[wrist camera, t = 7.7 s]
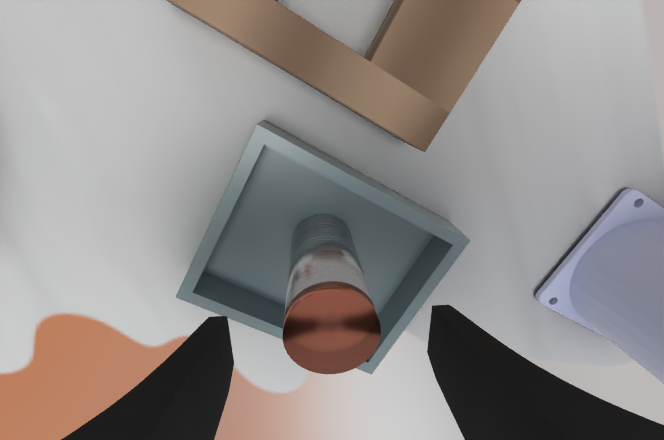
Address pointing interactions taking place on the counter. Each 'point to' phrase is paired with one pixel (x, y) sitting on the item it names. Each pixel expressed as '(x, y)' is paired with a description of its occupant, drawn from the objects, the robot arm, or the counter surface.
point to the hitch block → (373, 55)
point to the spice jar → (328, 299)
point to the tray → (284, 216)
